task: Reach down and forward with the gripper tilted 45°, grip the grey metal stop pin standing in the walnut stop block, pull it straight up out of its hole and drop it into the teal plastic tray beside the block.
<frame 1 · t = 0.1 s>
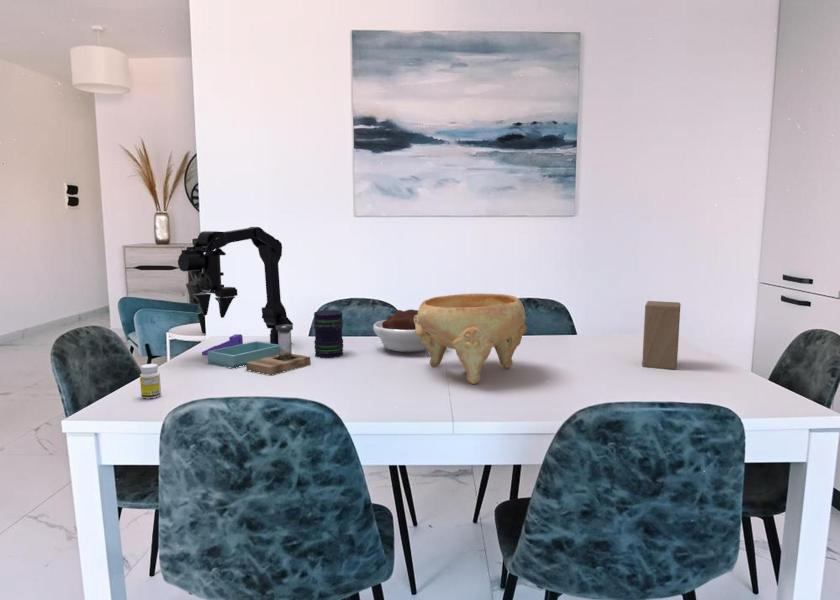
hand: (213, 316, 190), 15 cm above the table, tool pointing down, fingers open, 9 cm apart
wooden block: (659, 365, 183), on the table
tray: (246, 359, 191), on the table
decorative bowl: (468, 371, 176), on the table
storage jar: (329, 355, 198), on the table
stop block: (285, 365, 183), on the table
stop pin: (285, 345, 183), in the stop block
supplement bottle: (151, 397, 151), on the table
bracket: (223, 354, 201), on the table
white bowl of pudding: (408, 350, 206), on the table
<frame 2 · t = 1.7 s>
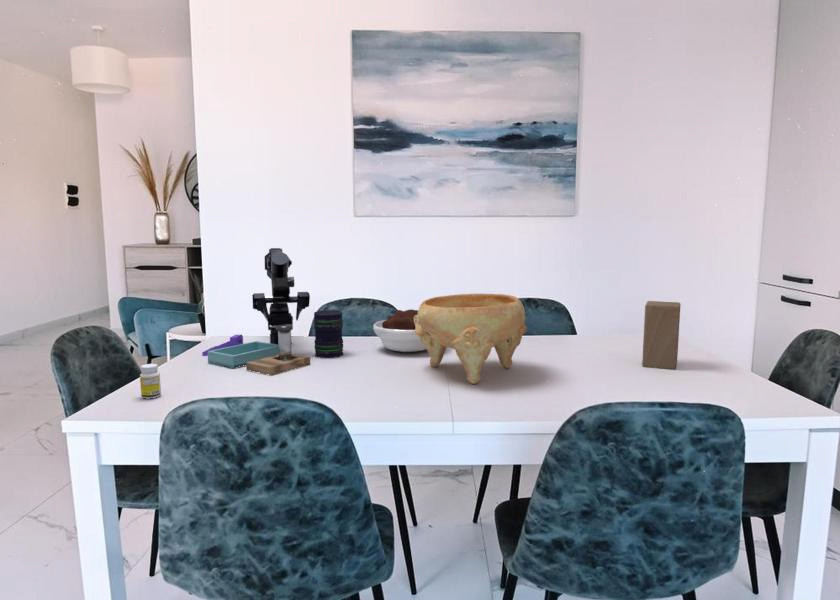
hand: (282, 320, 189), 13 cm above the table, tool tilted 45°, fingers open, 9 cm apart
nothing on the table moved.
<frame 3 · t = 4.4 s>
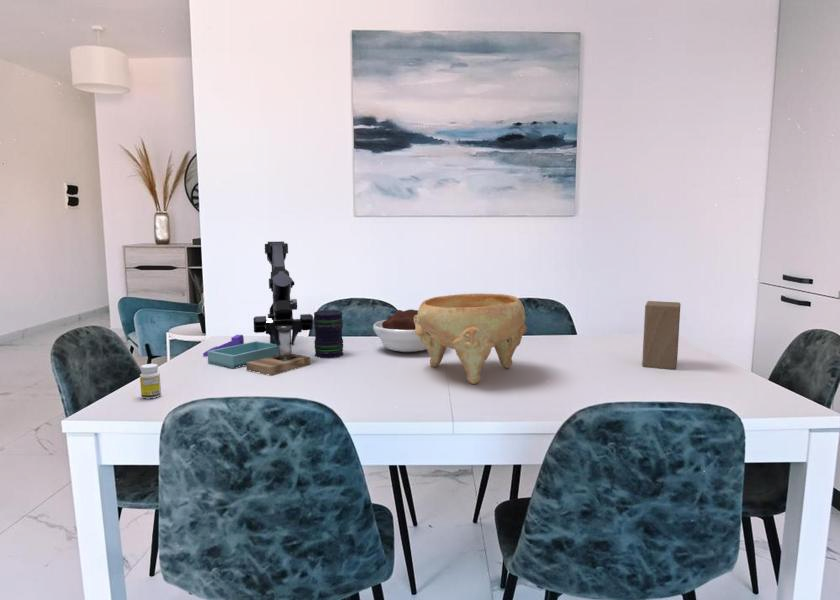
hand: (285, 344, 181), 7 cm above the table, tool tilted 45°, fingers closed on stop pin, 4 cm apart
stop pin: (285, 345, 183), in the stop block, touching gripper
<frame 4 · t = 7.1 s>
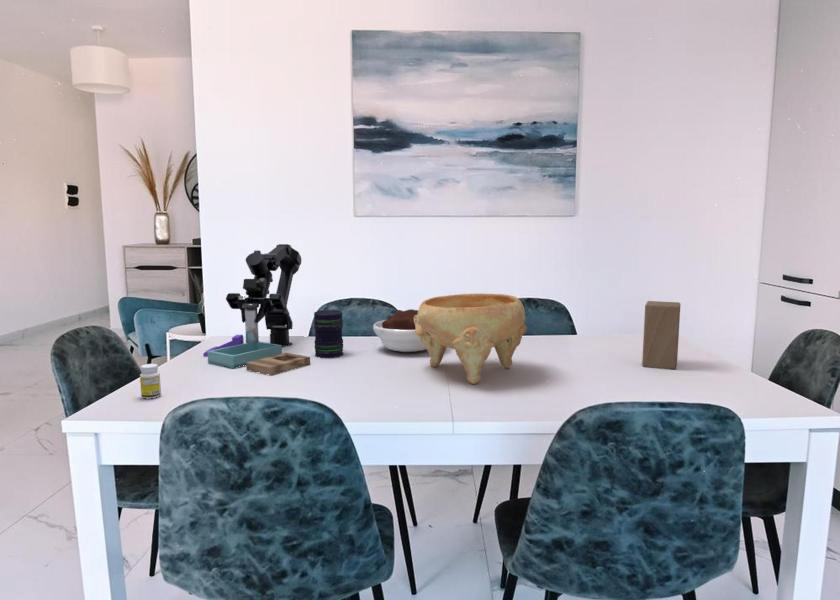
hand: (249, 322, 186), 13 cm above the table, tool tilted 45°, fingers closed on stop pin, 4 cm apart
stop pin: (251, 323, 187), point 13 cm above the table, touching gripper
when the fingers open (10 cm above the table, at t = 8.5 s): stop pin drops 2 cm, resting on tray.
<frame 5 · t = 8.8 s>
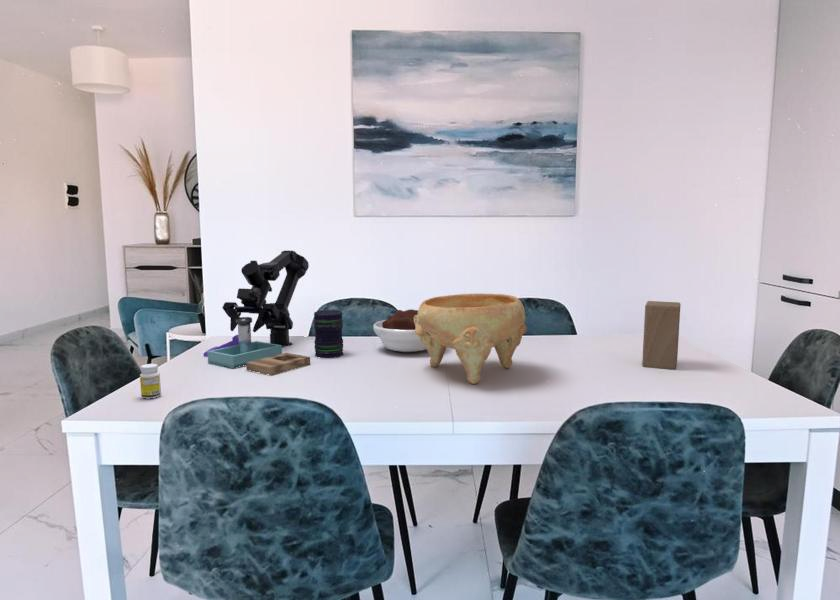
hand: (242, 331, 189), 10 cm above the table, tool tilted 45°, fingers open, 8 cm apart
stop pin: (244, 337, 190), in the tray, point 8 cm above the table
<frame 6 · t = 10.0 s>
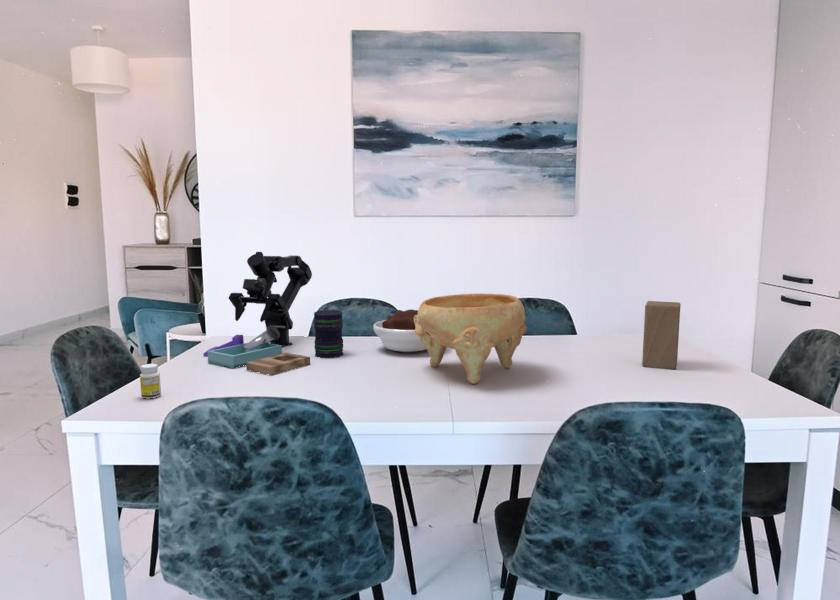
hand: (248, 320, 192), 13 cm above the table, tool tilted 45°, fingers open, 9 cm apart
stop pin: (260, 341, 196), resting on tray, tilted 69°
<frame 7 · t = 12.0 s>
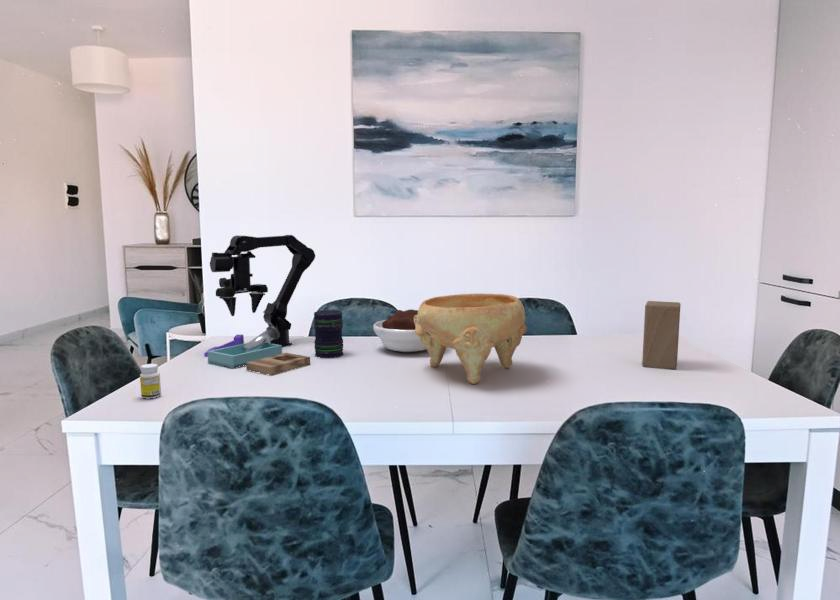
hand: (243, 314, 205), 13 cm above the table, tool pointing down, fingers open, 9 cm apart
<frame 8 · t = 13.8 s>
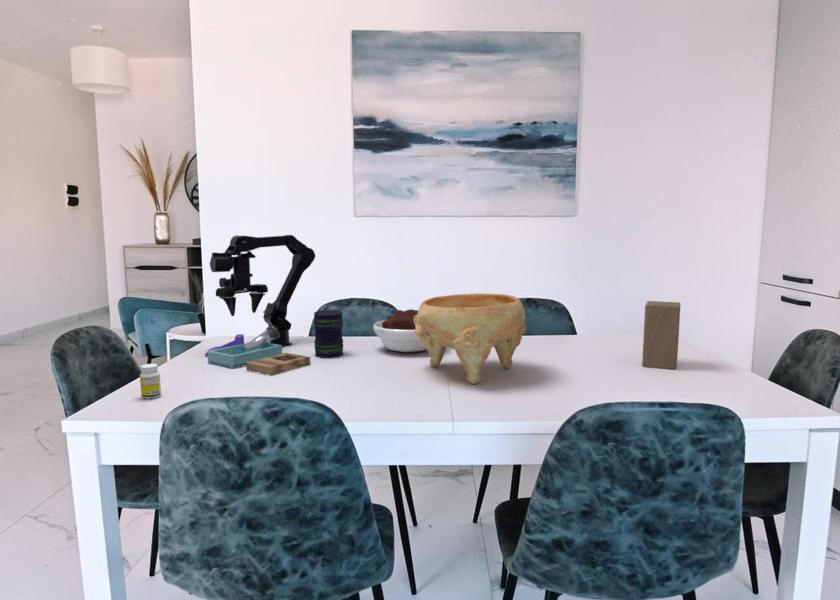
hand: (243, 314, 205), 13 cm above the table, tool pointing down, fingers open, 9 cm apart
at the end: stop pin inside the target area on the tray (0.6 cm from its centre), point 5.2 cm above the tray's base; the gripper is holding nothing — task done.
